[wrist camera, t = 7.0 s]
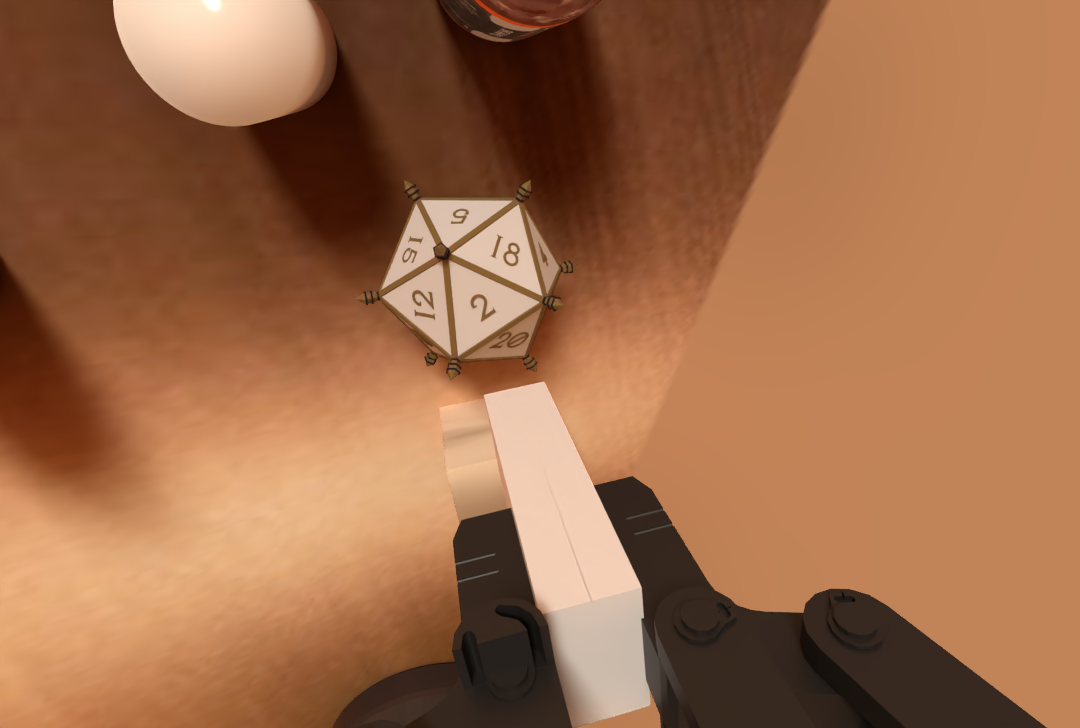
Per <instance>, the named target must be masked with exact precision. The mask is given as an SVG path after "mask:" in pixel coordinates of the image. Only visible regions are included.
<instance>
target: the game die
mask: <svg viewBox="0 0 1080 728" xmlns="http://www.w3.org/2000/svg"><path fill="white" fill-rule="evenodd" d="M404 186H405V192H404V193H407V195H408V198H409V197H410V198H411V199H412V200H413V201H414V204H413V206H412V209H411V211H410V214H409V216H408V219H407V221H406V224H405V226H404V229H403V231H402V234H401V236H400V239H399V241H398V244H397V246H396V249H395V251H394V254H393V256H392V259H391V261H390V264H389V266H388V268H387V271H386V273H385V276H384V278H383V281H382V283H381V286H380V288H379V291H378V292H372V291H369V292H367V293H366V292H364V293H363V294H362V295H360V296H359V297H358V298H356V300H359V301H361V302H363V303H366V305H368V303H372V304H374V302H375V301H377V300H380V301H381V302H382V303H383V304H384V305H385V306H386V307H387V308H388V309H389V310H390V311H391V312H392V313H393V314H394V315H395V316H396V317H397V318H398V319H399V320H400V321H401V322H402V323H403V324H404V325H405V326H406V327H407V328H408V329H409V330H410V331H411V332H412V333H413V334H414V335H415V336H416V337H417V338H418V339H419V340H420V341H421V342H422V343H423V344H424V345H425V346H426V347H427V348H428V349H429V350H430V351H431V352H430V353H427V357H425V360H426V364H427V366H430V365H434V364H435V362H436V360H437V358H438V357H437V355H439V356H441V357H444V358H446V359H448V360H450V361H451V362H450V363H449V364H448V368H447V372H446V373H447V374H448V375H449V378H450V380H452V379H453V378H454V377H456V376H457V375H459V374H460V372H459V371H460V369H461V367H460V363H464V362H478V361H493V360H507V359H523V360H524V365H526V367H527V369H530V370H532V371H535V372H537V362H536V361H535V360H534V358H532V357H531V356H530V355H529V353H530V350H531V347H532V345H533V342H534V340H535V337H536V335H537V332H538V330H539V327H540V325H541V322H542V319H543V317H544V314H545V312H546V309H547V307H548V308H549V309H550V310H551V309H553V310H554V311H556V310H557V309H558V308H560V307H563V306H564V305H563V303H562V302H561V300H560V297H554V296H552V294H553V291H554V289H555V286H556V284H557V281H558V279H559V276H560V274H561V272H564V273H568V272H569V273H572V272H573V271H574V270H575V269H576V268H577V267H578V266H577V265H575V264H573V263H571V262H570V261H568V262H567V263H566V262H564V263H563V264H561V265H559V263H558V262H557V260H556V258H555V257H554V255H553V253H552V251H551V250H550V248H549V246H548V244H547V243H546V241H545V239H544V238H543V236H542V234H541V232H540V231H539V229H538V227H537V226H536V224H535V222H534V220H533V219H532V217H531V215H530V214H529V212H528V210H527V208H526V207H525V205H524V203H523V202H524V200H525V199H526V198H529V194H530V193H532V191H531V180H529V181H528V182H526V183H525V184H523V185H522V184H521V185H520V186H519V187H520V189H519V190H518V191H517V197H516V198H421V197H420V195H419V192H418V191H419V189H418V190H417V188H416V187H415V186H416V184H415V185H413V184H411V183H409V182H407V181H405V180H404Z"/></svg>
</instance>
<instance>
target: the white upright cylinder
mask: <svg viewBox="0 0 1080 728" xmlns="http://www.w3.org/2000/svg"><path fill="white" fill-rule="evenodd" d="M113 5H114V17H115V21H116V26H117V30H118V33H119V36H120V39H121V42H122V45H123V47H124V49H125V51H126V53H127V55H128V57H129V59H130V61H131V62H132V64H133V66H134V67H135V69H136V70H137V72H138V73H139V74H140V76H141V77H142V78H143V79H144V81H145V82H146V83H147V84H148V85H149V86H150V87H151V88H152V89H153V90H154V91H155V92H156V93H157V94H158V95H159V96H160V97H161V98H163V99H164V100H165V101H166V102H168V103H169V104H171V105H172V106H173V107H175V108H176V109H178V110H180V111H182V112H183V113H185V114H187V115H189V116H191V117H194V118H196V119H198V120H201V121H205V122H208V123H211V124H216V125H222V126H246V125H251V124H256V123H260V122H263V121H267V120H271V119H274V118H278V117H282V116H285V115H289V114H292V113H296V112H300V111H302V110H305V109H307V108H309V107H311V106H313V105H314V104H316V103H317V102H318V101H319V100H320V99H321V98H322V97H323V96H324V95H325V94H326V92H327V91H328V89H329V88H330V86H331V84H332V82H333V79H334V76H335V73H336V67H337V46H336V41H335V37H334V33H333V30H332V28H331V25H330V23H329V21H328V19H327V17H326V16H325V14H324V12H323V11H322V9H321V8H320V7H319V5H318V4H317V3H316V2H315V0H113Z"/></svg>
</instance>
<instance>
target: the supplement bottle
mask: <svg viewBox="0 0 1080 728" xmlns="http://www.w3.org/2000/svg"><path fill="white" fill-rule="evenodd" d="M600 1H601V0H439V2H440V3H441V5H442V7H443V8H444V9H445V11H446V12H447V14H448V15H449V16H450V17H451V18H452V19H453V20H454V21H455V22H456V23H457V24H458V25H459V26H460V27H462V28H463V29H464V30H466V31H468V32H469V33H471V34H473V35H475V36H476V37H479V38H482V39H485V40H489V41H494V42H515V41H519V40H522V39H526V38H529V37H531V36H534V35H537V34H539V33H540V32H543V31H545V30H548V29H552V28H554V27H556V26H559V25H562V24H565V23H567V22H569V21H571V20H573V19H575V18H577V17H579V16H581V15H583V14H584V13H586V12H587V11H589V10H590V9H591V8H593V7H594V6H595V5H596V4H598V3H599V2H600Z"/></svg>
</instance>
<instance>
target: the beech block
mask: <svg viewBox="0 0 1080 728" xmlns="http://www.w3.org/2000/svg"><path fill="white" fill-rule="evenodd" d="M440 417H441V427H442V437H443V446H444V456H445V465H446V472H447V476H448V480H449V484H450V488H451V492H452V496H453V500H454V504H455V507H456V511H457V515H458V519H459V523H460V522H461V520H463V519H467V518H471V517H475V516H480V515H484V514H488V513H492V512H496V511H500V510H504V509H508V508H507V503H506V499H505V495H504V491H503V487H502V483H501V478H500V473H499V468H498V463H497V458H496V453H495V448H494V444H493V439H492V434H491V429H490V424H489V419H488V414H487V409H486V404H485V399H484V398H481V399H477V400H472V401H468V402H463V403H459V404H454V405H449V406H445V407H440Z"/></svg>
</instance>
